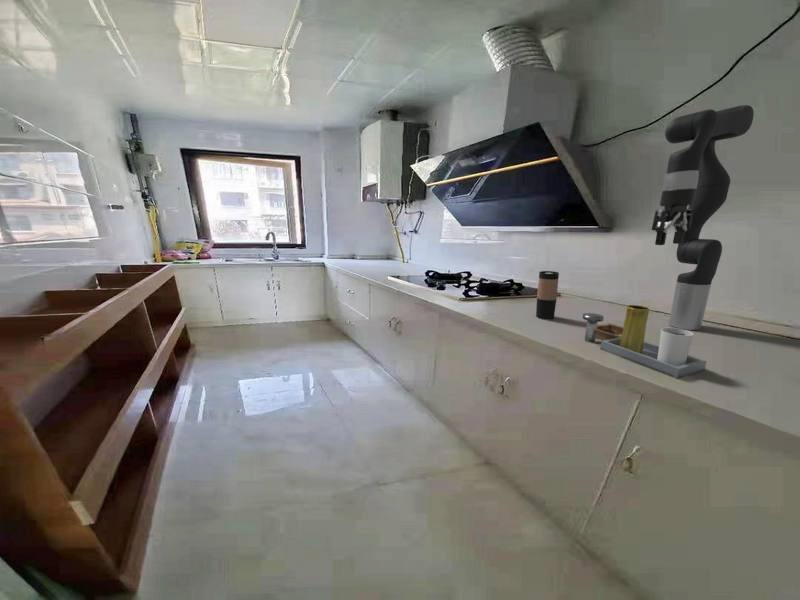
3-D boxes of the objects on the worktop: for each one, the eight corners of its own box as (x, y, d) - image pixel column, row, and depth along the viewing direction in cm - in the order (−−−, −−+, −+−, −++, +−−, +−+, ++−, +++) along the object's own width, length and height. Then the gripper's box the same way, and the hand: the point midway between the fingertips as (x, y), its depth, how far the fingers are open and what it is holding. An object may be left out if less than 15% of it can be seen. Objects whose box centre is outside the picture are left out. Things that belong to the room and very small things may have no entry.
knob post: (588, 336, 108) (591, 312, 106) (604, 342, 102) (607, 316, 100) (575, 339, 106) (578, 314, 104) (591, 345, 101) (595, 319, 98)
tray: (625, 343, 101) (626, 335, 100) (704, 370, 82) (706, 360, 81) (600, 349, 97) (601, 341, 96) (676, 378, 78) (679, 368, 77)
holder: (607, 330, 113) (608, 323, 112) (638, 340, 103) (639, 332, 102) (586, 334, 110) (587, 327, 109) (616, 345, 100) (617, 337, 99)
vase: (647, 355, 90) (655, 310, 87) (624, 354, 92) (632, 309, 88) (636, 347, 96) (643, 304, 93) (615, 346, 98) (621, 304, 94)
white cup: (673, 359, 87) (680, 327, 85) (693, 370, 81) (701, 335, 78) (649, 359, 88) (655, 327, 85) (666, 370, 81) (674, 335, 79)
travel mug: (533, 314, 135) (536, 271, 131) (550, 314, 134) (555, 270, 129) (538, 319, 128) (542, 273, 123) (557, 320, 127) (562, 273, 122)
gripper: (679, 190, 94) (669, 242, 98) (649, 190, 89) (639, 244, 93) (709, 187, 87) (697, 243, 91) (679, 186, 82) (667, 246, 86)
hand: (668, 244), depth 92 cm, fingers open, 8 cm apart
